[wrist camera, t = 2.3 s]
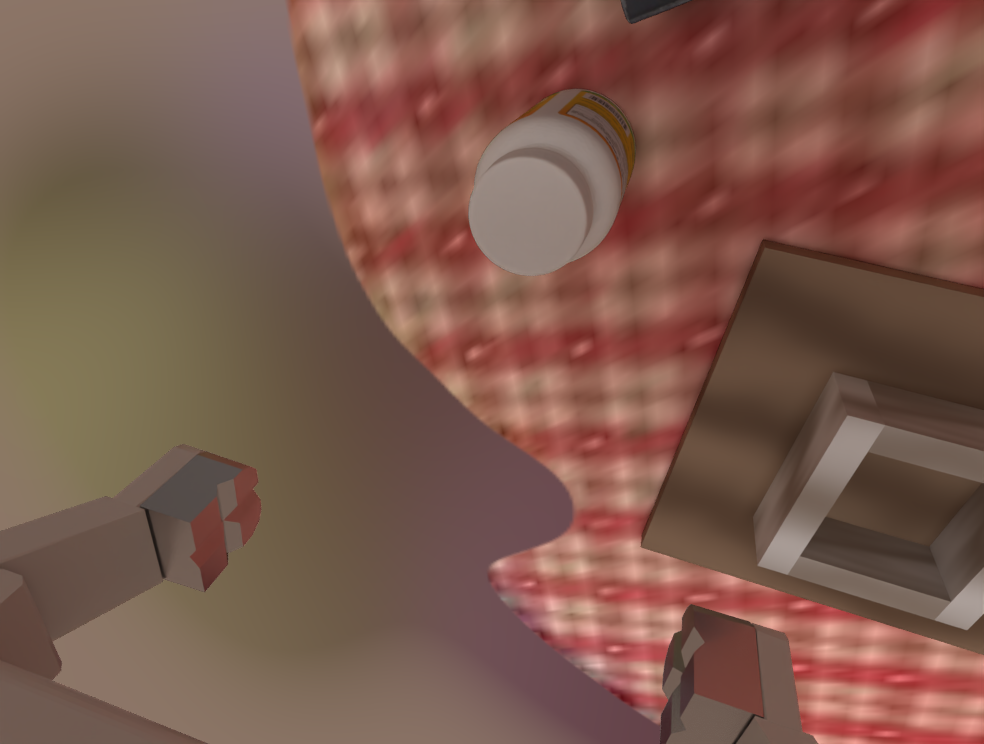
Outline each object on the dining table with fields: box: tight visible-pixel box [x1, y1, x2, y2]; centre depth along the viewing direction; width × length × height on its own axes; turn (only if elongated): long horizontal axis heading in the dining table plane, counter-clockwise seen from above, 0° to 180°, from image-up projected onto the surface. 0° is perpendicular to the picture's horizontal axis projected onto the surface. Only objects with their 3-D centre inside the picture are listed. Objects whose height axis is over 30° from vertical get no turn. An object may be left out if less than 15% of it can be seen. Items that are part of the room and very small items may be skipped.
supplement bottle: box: [468, 89, 636, 276], centre depth 24 cm, size 5×5×10 cm
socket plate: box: [641, 240, 984, 655], centre depth 29 cm, size 20×20×4 cm
